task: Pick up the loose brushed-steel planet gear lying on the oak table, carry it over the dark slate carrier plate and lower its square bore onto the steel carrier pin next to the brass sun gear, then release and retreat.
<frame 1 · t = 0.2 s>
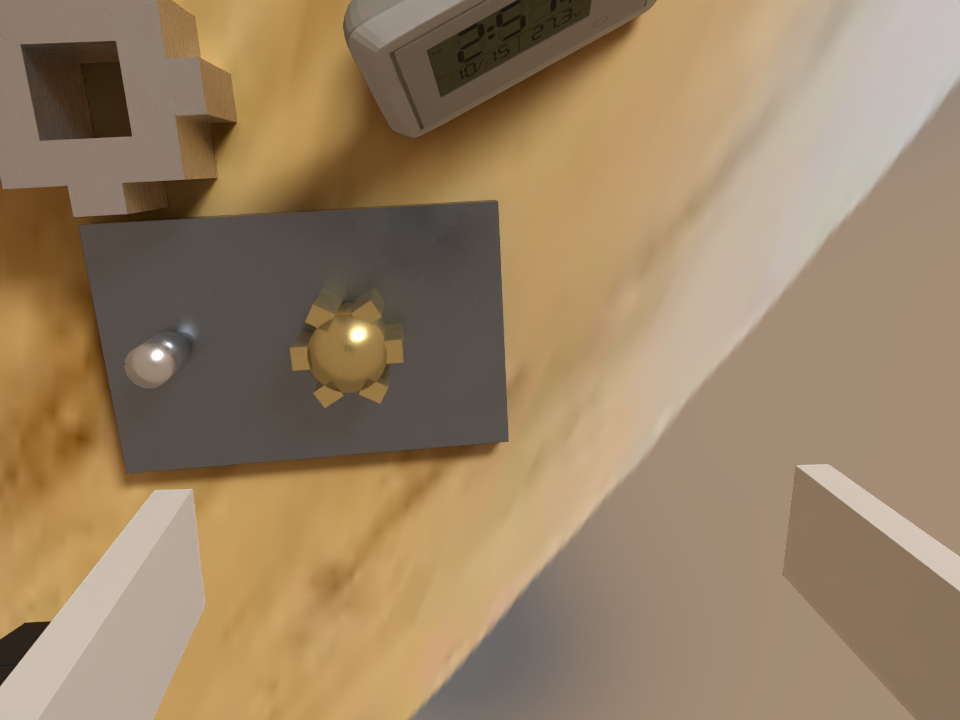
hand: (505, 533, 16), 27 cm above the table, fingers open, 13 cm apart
planet gear: (128, 103, 38), on the table
carrier: (311, 334, 42), on the table
digital clock: (504, 28, 39), on the table
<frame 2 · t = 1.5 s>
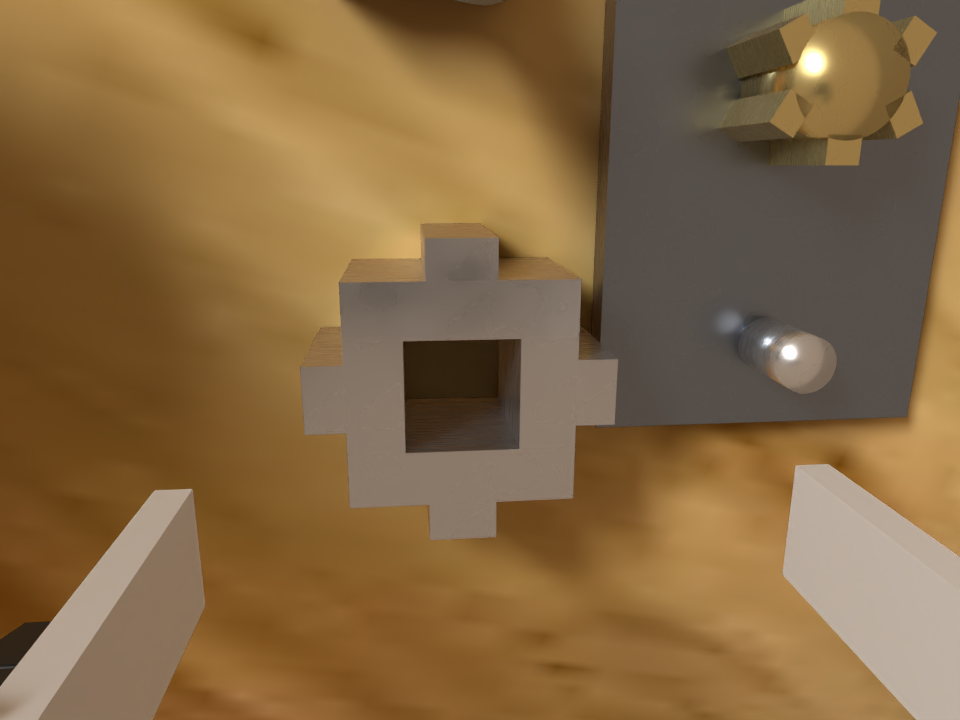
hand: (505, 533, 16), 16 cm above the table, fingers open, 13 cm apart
planet gear: (451, 353, 31), on the table
carrier: (765, 157, 30), on the table
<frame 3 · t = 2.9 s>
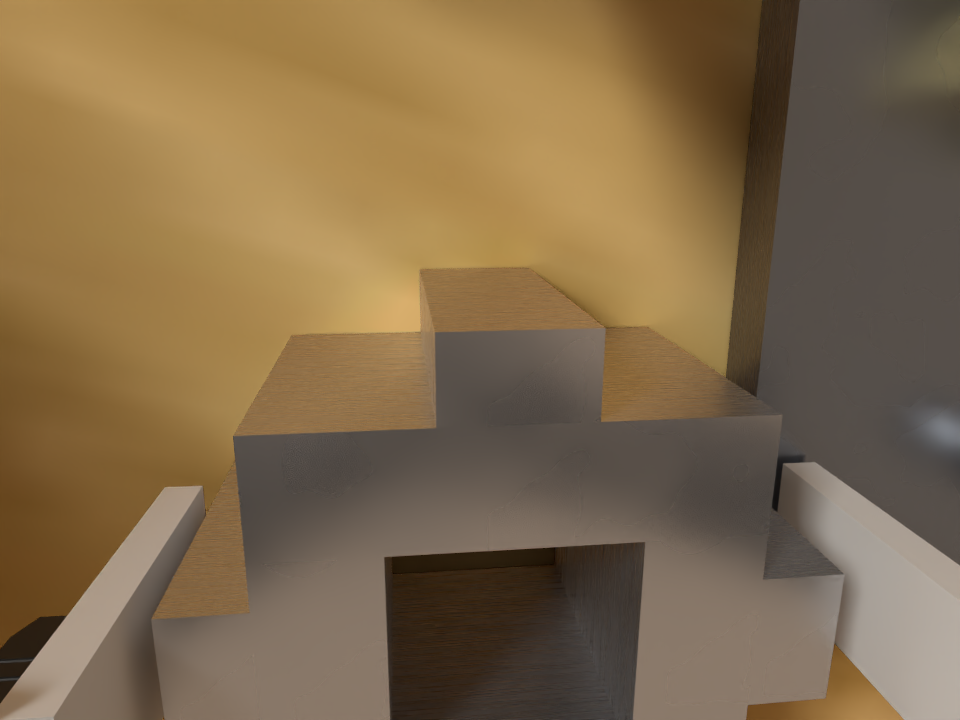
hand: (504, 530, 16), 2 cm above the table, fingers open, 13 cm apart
planet gear: (474, 494, 17), on the table
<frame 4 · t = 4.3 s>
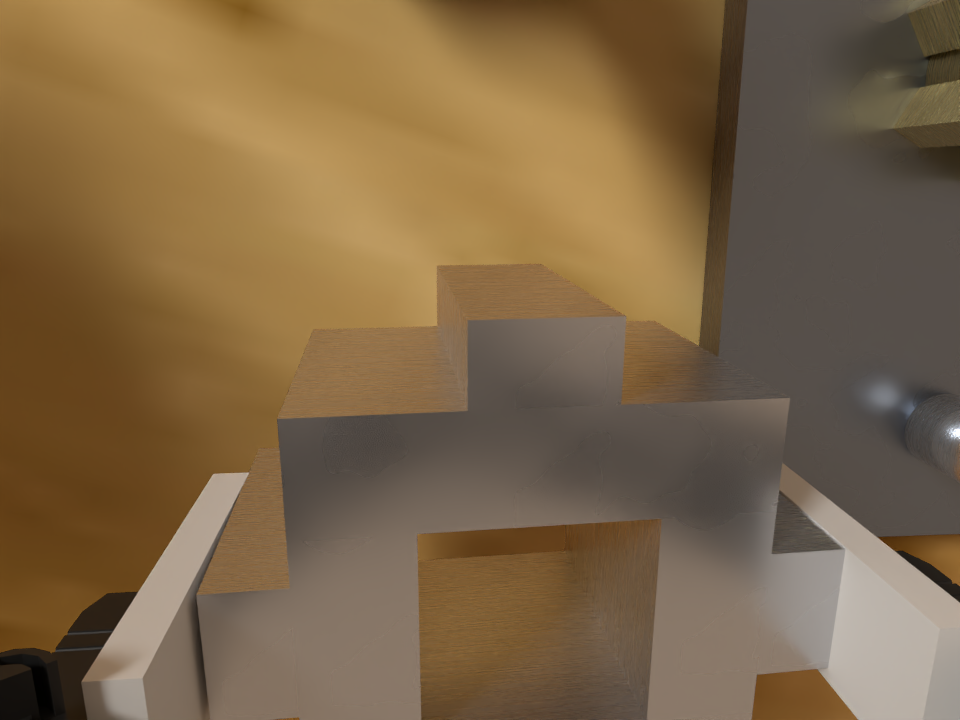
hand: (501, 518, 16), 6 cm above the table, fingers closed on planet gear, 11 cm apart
planet gear: (488, 483, 18), point 5 cm above the table, touching gripper
carrier: (944, 170, 21), on the table
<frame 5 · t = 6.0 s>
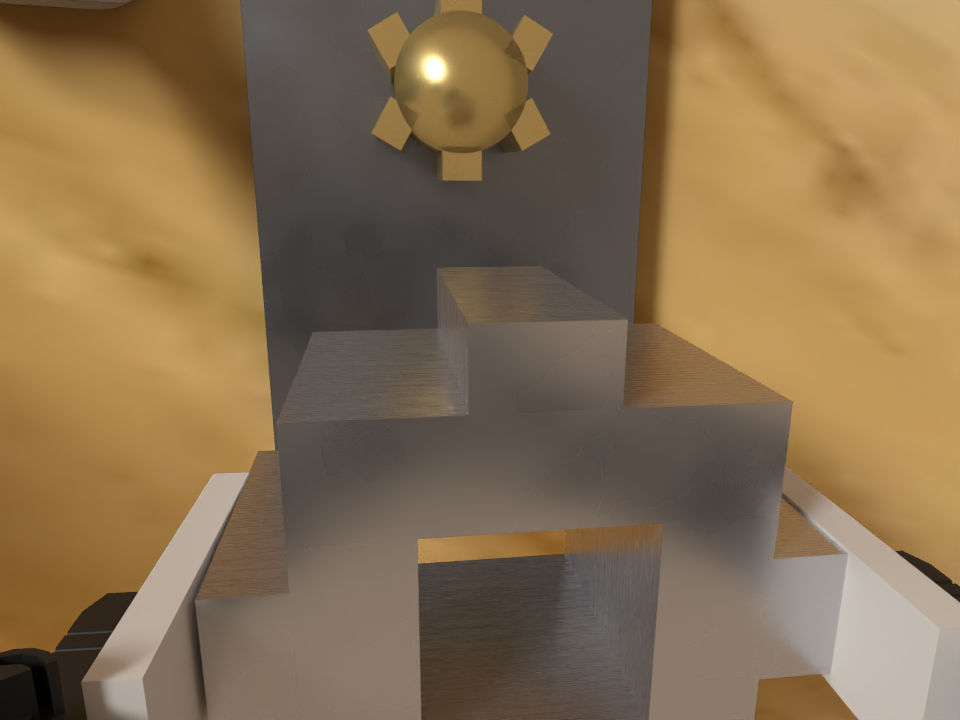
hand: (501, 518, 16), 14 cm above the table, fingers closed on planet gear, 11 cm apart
planet gear: (488, 486, 18), point 12 cm above the table, touching gripper
carrier: (450, 169, 27), on the table
when the fingers open (4 cm above the table, at t = 7.8 s): planet gear drops 1 cm, resting on carrier.
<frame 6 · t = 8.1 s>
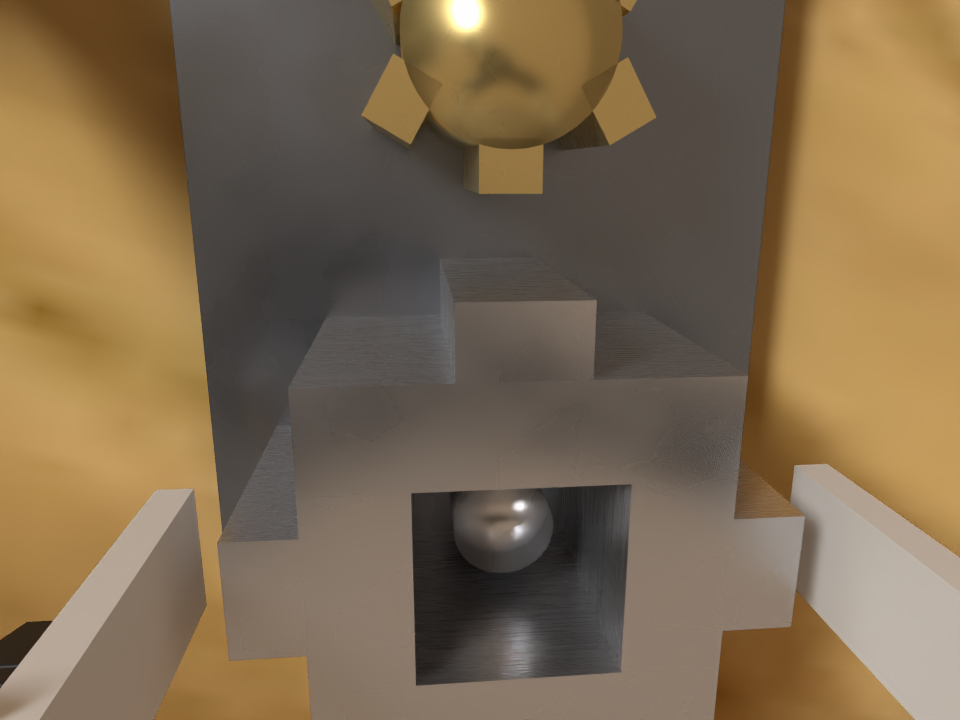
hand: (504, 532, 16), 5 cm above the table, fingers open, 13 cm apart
planet gear: (487, 461, 19), point 1 cm above the table, touching carrier
carrier: (482, 174, 19), on the table
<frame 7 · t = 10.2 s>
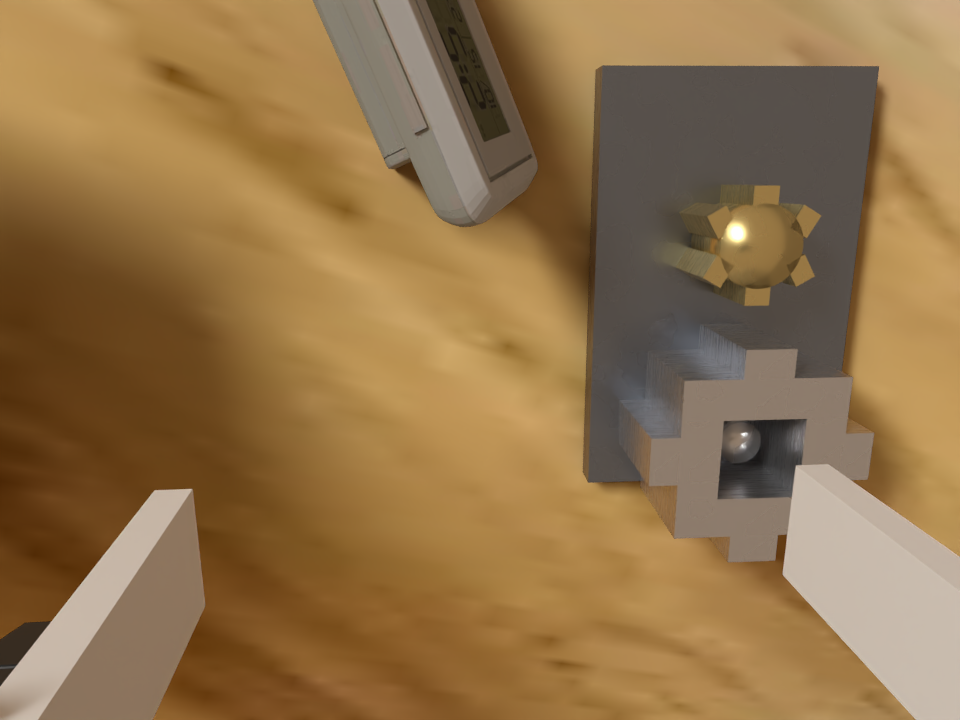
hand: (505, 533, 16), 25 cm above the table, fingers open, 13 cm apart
planet gear: (714, 418, 40), point 1 cm above the table, touching carrier
carrier: (714, 283, 40), on the table
digital clock: (431, 54, 36), on the table
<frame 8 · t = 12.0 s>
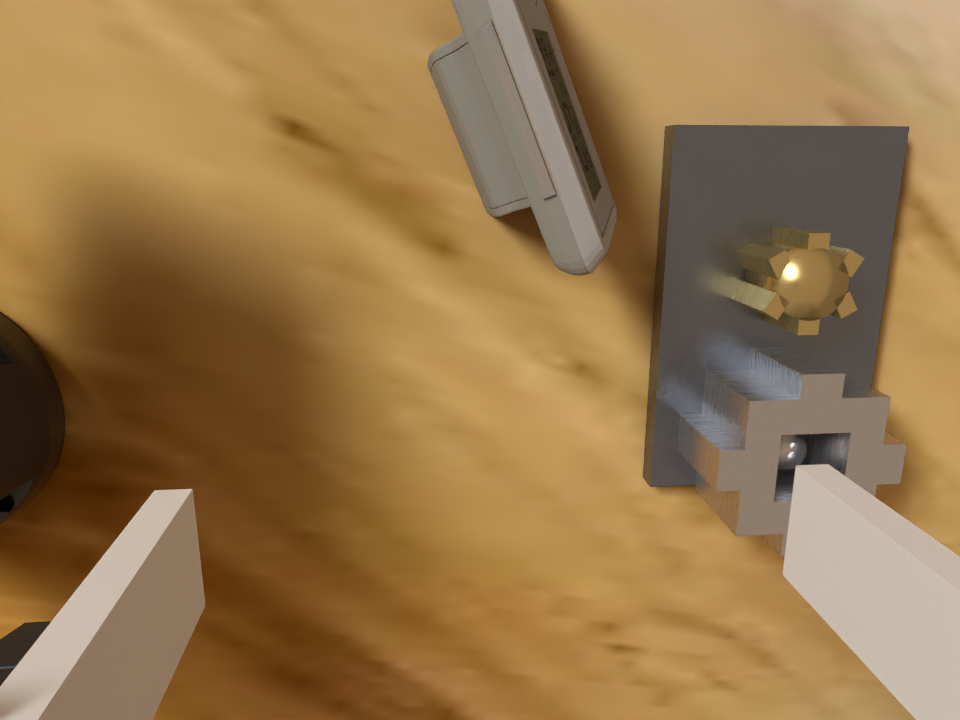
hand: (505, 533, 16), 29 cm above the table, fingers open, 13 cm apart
planet gear: (761, 429, 46), point 1 cm above the table, touching carrier
carrier: (761, 310, 45), on the table
digital clock: (524, 112, 41), on the table
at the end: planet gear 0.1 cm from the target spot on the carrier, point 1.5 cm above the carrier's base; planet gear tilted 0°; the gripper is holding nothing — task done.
